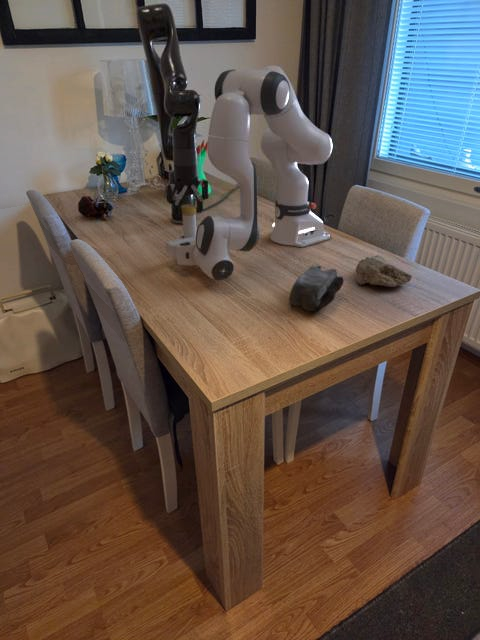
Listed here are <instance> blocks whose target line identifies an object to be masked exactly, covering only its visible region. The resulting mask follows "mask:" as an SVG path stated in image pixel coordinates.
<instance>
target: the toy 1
mask: <svg viewBox="0 0 480 640" xmlns="http://www.w3.org/2000/svg"><path fill="white" fill-rule="evenodd" d="M99 199H100V196H99V195H95V196H94V197H91V196H90V195H83V196H82V197H81V198H80V199H79V201H78V203H77V211H78V212H79V214H80V215H81V216H83V217H86V218H88V219H94V220H99V221H100V220H101V221H106V219H105V216H106V217H108V218H111V217H112V216H113V213H114V212H112V211H113V210H114V208H115V204H114V203H113V202H112V200H110V199H108V200H105V199H100V200H99Z"/></svg>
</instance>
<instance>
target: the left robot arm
mask: <svg viewBox="0 0 480 640" xmlns="http://www.w3.org/2000/svg"><path fill="white" fill-rule="evenodd" d="M136 24H137V27H138V31H139V35H140V40H141V43H142V47H143V52H144V56H145V59H146V64H147V69H148V74H149V81H150V88H151V93H152V98H153V102H154V105H155V106H154V107H155V111H156V115H157V120H158V126H159V135H160V142H161V150H162V155H163V157H164V159H165V160H166V161H170V162H172V163H173V169H170V171H169V172H168V182H169V183H165V185H164V188H165V189H164V190H165V197H166V202H167V203H168V204H169V205H170V206H171V207H170V208H171V209H170V210H171V212H170V214H171V215H170V216H171V222H172V223H174V224H177V225H183V217H182V210H181V206H182V205H185V204H193V205H195V206H196V213H197V214H198V213H199V214H202V213H203V212H204V211H206V210H209V209H210V208H211V209H212V208H213V207H215V206H217V205H219V204H220V203H221V202H223V201H224V200H226V199H227V198H228V197H229V196H230V195H231V194H232V193H233V192H235V191H237V190H238V189H240V187H239V185H238V186H237V187H235V188H233V189H232V190H231V191H229V193H227V194H226V196H224V197H223V198H222V199H220V200H219V201H217V202H216V203H213V204H211V205H209V206H207V207H205V208H204V201H205V200H208V199H209V195H208V184H209V181H208V180H207V179H206V180H205V179H202V180H199V179H198V157H197V134H196V133H197V124H198V121H199V115H200V111H201V97H200V94H199V93H198V91H196V90H195V89H187V87H188V77H187V75H186V70H185V67H184V65H183V61H182V57H181V50H180V44H179V38H178V34H177V33H178V32H177V27H176V23H175V17H174V13H173V11H172V9H171V7H170V5H169V4H168V3H155V4H154V3H153V4H149V5H143V6H139V7H137V8H136ZM162 40H166V43H165V45H164V49H163V51H162V54H161V55H160V56H159V54H158V52H157V51H156V49H155V47H154V45H153V42H157V41H162ZM182 117H184V118H185V117H186V119H185V121H184V122H183V123H181V124H177V125H175V126H174V127H172V123H173V120H174V119H175V118H182ZM171 127H172V130H171ZM199 185H201V186H202V195H200V193H199V192H198V190H197V188H198V186H199ZM193 194H194V195H195V197H196V199H195V197H194V196H193Z"/></svg>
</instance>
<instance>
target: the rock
mask: <svg viewBox="0 0 480 640" xmlns="http://www.w3.org/2000/svg"><path fill="white" fill-rule="evenodd" d="M344 280H345V279H344V277H342V276H338V271H337V270H336V268H335V269H334V268H331V269H328V270H322V266H321V265H318V266H317V265H316V266H314V265H311V266H310V267H308V268H307V269H306V270H305V271H303V272H302V274H301V275H299V277H298V278H297V279H296V281H295V282H294V283H293V285H292V288H291V290H290V294H289V297H288V302H289V303H290V304H291V305H293V306H295V307H296V306H299V305H300V306H301V308H303V309H304V310H305V311H307V312H312V311H314V312H315V313H318V312H320V311H321V310H322V309H324V308H325V307H327V306H328V305H329V304H331V303H332V302H333V301H334V299H335V298H336V294H337V293H338V292H339V291H340V290H341V288H342V286H343V285H344Z"/></svg>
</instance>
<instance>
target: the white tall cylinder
mask: <svg viewBox="0 0 480 640" xmlns="http://www.w3.org/2000/svg"><path fill="white" fill-rule="evenodd" d="M182 217H183V224H182V230H183V236H185V238H190V237H196V232H197V213H196V214H194V215H183V214H182Z"/></svg>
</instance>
